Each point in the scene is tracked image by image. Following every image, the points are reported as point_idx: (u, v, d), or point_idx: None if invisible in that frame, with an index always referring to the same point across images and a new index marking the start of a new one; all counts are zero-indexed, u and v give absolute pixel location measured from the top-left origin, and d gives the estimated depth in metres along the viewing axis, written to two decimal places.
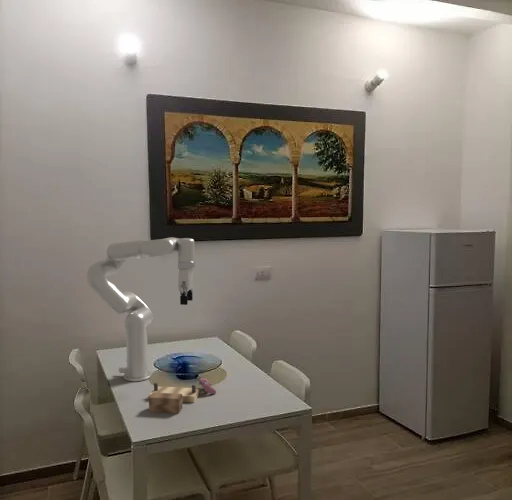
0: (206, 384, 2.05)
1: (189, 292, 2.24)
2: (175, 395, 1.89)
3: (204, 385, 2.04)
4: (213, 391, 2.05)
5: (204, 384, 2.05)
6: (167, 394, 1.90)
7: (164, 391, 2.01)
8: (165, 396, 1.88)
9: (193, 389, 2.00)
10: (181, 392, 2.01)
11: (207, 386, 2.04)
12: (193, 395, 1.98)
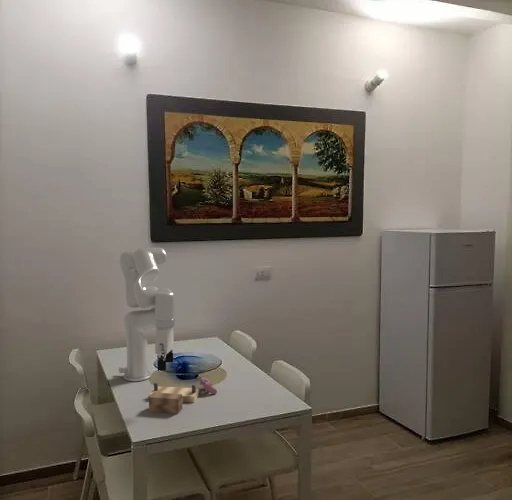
0: (207, 384, 2.05)
1: (169, 353, 1.92)
2: (175, 395, 1.89)
3: (205, 385, 2.04)
4: (214, 391, 2.05)
5: (205, 384, 2.05)
6: (167, 394, 1.90)
7: (164, 391, 2.01)
8: (165, 396, 1.88)
9: (193, 389, 2.00)
10: (181, 392, 2.01)
11: (208, 386, 2.04)
12: (193, 395, 1.98)
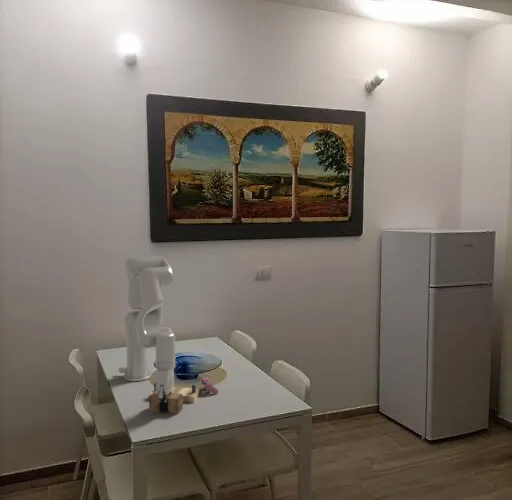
0: (208, 384, 2.05)
1: None
2: (175, 395, 1.89)
3: (206, 385, 2.05)
4: (215, 391, 2.05)
5: (206, 384, 2.05)
6: None
7: None
8: None
9: (193, 389, 2.00)
10: (181, 392, 2.01)
11: (209, 386, 2.05)
12: (193, 395, 1.98)
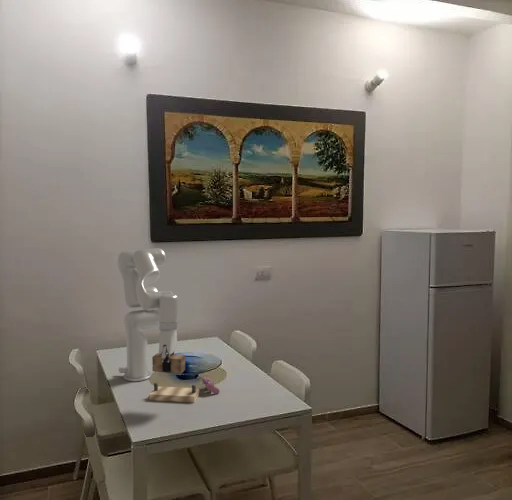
0: (210, 383, 2.05)
1: None
2: (178, 356, 1.93)
3: (208, 384, 2.05)
4: (216, 390, 2.06)
5: (208, 383, 2.05)
6: (170, 355, 1.94)
7: (164, 391, 2.01)
8: None
9: (193, 389, 2.00)
10: (181, 392, 2.01)
11: (211, 385, 2.05)
12: (193, 395, 1.98)
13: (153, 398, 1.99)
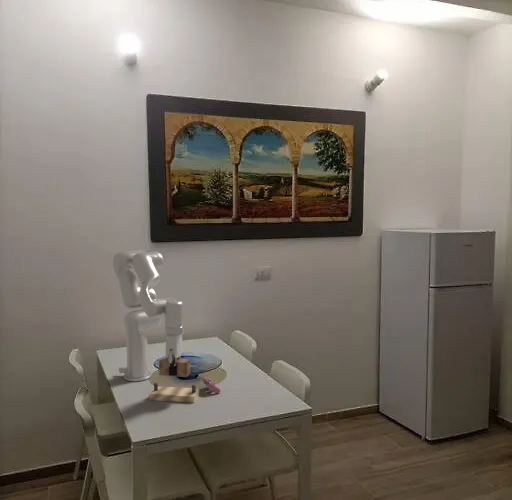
0: (210, 383, 2.06)
1: None
2: (184, 360, 2.01)
3: (209, 384, 2.05)
4: (217, 390, 2.06)
5: (208, 383, 2.05)
6: (176, 359, 2.02)
7: (164, 391, 2.01)
8: None
9: (193, 389, 2.00)
10: (181, 392, 2.01)
11: (211, 385, 2.05)
12: (193, 395, 1.98)
13: (153, 398, 1.99)
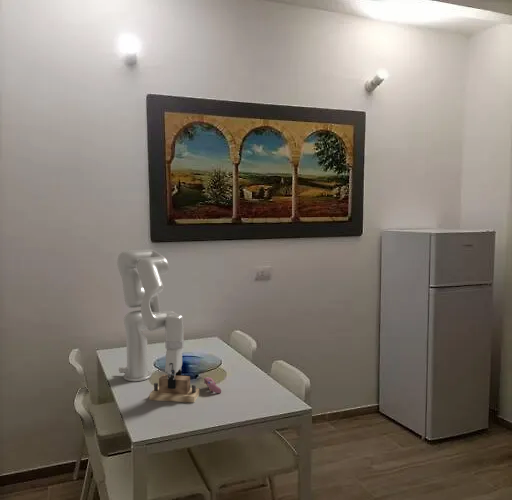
0: (211, 383, 2.06)
1: (178, 372, 2.05)
2: (184, 377, 2.02)
3: (209, 384, 2.05)
4: (218, 390, 2.06)
5: (209, 383, 2.06)
6: (176, 376, 2.03)
7: None
8: None
9: (193, 389, 2.00)
10: None
11: (212, 385, 2.05)
12: (193, 395, 1.98)
13: (153, 398, 1.99)
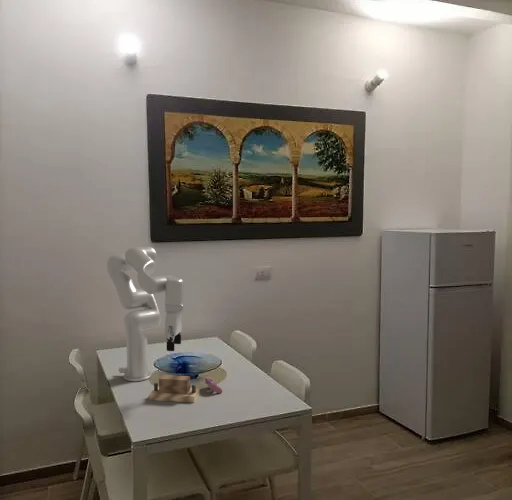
0: (212, 383, 2.06)
1: (177, 335, 2.07)
2: (184, 377, 2.02)
3: (210, 384, 2.06)
4: (219, 390, 2.06)
5: (210, 383, 2.06)
6: (176, 376, 2.03)
7: None
8: (174, 378, 2.01)
9: (193, 389, 2.00)
10: None
11: (213, 385, 2.06)
12: (193, 395, 1.98)
13: (153, 398, 1.99)
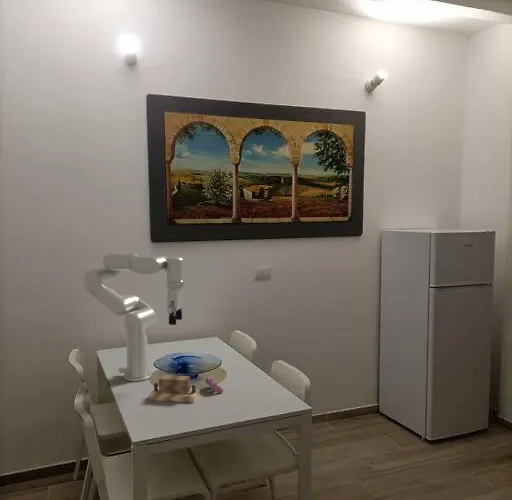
0: (213, 383, 2.06)
1: (178, 311, 2.20)
2: (184, 377, 2.02)
3: (211, 384, 2.06)
4: (220, 390, 2.07)
5: (211, 383, 2.06)
6: (176, 376, 2.03)
7: None
8: (174, 378, 2.01)
9: (193, 389, 2.00)
10: None
11: (214, 385, 2.06)
12: (193, 395, 1.98)
13: (153, 398, 1.99)
